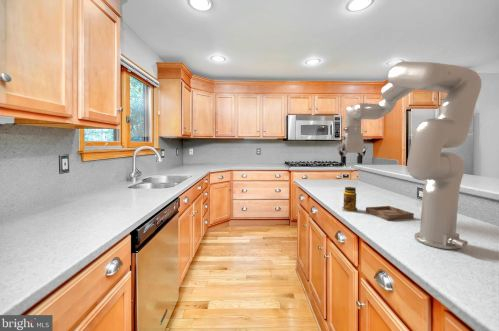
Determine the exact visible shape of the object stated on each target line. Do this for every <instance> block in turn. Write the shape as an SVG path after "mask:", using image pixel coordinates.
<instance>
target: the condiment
mask: <svg viewBox="0 0 499 331" xmlns="http://www.w3.org/2000/svg"><path fill="white" fill-rule="evenodd" d="M356 190H357V189H356V187H353V186H345V187H344V192H343V206H342V207H341V209H342V211H344V212H354V213H355V212H356V213H358V212H359V211H358V209H357V192H356Z"/></svg>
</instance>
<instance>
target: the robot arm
mask: <svg viewBox="0 0 499 331" xmlns="http://www.w3.org/2000/svg"><path fill="white" fill-rule="evenodd" d="M481 89H482V78H481V76H480V75H479V73H477V71H475V70H473V69H471V68H469V67H465V66H461V65H455V64H446V63H440V62H429V61H428V62H427V61H426V62H425V61H424V62H422V61H421V62H420V61H400V62H397V63H396V64H394V65H393V66H392V67H391V68H390V69H389V71H388V72H387V83H386V84H384V85H383V86H382V87H381V89H380V91H381V97H382V98H383V99H381V100H380V101H379V102H377V103H368V102H359V103H356V104H355V105H351V106H347V107H346V110H345V123H344V124H345V125H344V126H345V127H344V128H343V131H344V133H343V136H342V142H341V145H339V146H337V147H336V150H337V153H338V154H339V156H340V164H342V165H346V164H347V156H346V155H347V154H349V153H350V154H351V153H356V154H357V157H356V164H359V165H362V164H363V157H364V156H365V154H366V152H367V150H368V147H367V146H365V145H364V144H365V143H364V136H363V133H362V122H363V121H362V120H379V119H381V118H383V117H384V116H386V115H388V114H389V113H390V112H392V111H393V110H394V108H395V107H396V105H397V103H398V101H400V100H401V99H403V98H404V97H406V96H408V95H409V94H411V93H412V92H414V91H415V90H418V91H425V92H435V93H436V92H437V93H445V94H447V95H446V96H445V97H444V99H443V100H442V102H441V104H440V106H439V111H438V114H437V117H432V118H428V119H425V120H423V121H422V122H420V123H419V124H418V125H417V126H416V128H415V130H414V131H413V133H412V138H411V143H410V147H409V151H408V157H407V162H406V168H407V172H408V175H410V176H411V178H413V179H414V180H418V181H424V182H425V183H424V185H423V188H422V197H421V198H422V200H421V212H420V213H421V214H420V226H419V229H420V230H419V231H418V232H416V233H414V239H415V240H416V241H417V242H419V243H421V244H424V245H425V246H430V247H433V248H437V249H443V250H458V249H466V248H467V247H468V246H467V245H468V243H469V242H468V241H467V240H466V239H461V238H460V233H457V220H458V219H457V218H458V209H459V208H458V207H459V198H460V197H459V196H460V189H461V184H462V180H463V177H464V174H465V168H466V167H465V166H466V165H465V162H464V160H463V158H461V156H460V155H459V154H456V153H454V152H451V151H443V149H453V148H458V147H460V146H462V145H463V144H465V143H466V141H467V140H468V139H467V138H468V135H469V132H470V129H471V125H472V121H473V118H474V114H475V109H476V105H477V103H478V99H479V96H480V93H481Z"/></svg>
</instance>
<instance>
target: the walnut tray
mask: <svg viewBox="0 0 499 331" xmlns="http://www.w3.org/2000/svg"><path fill="white" fill-rule="evenodd" d="M365 213H367V214H370V215H373V216H374V217H378V218H380V219H383V220H385V221H400V220H411V219H412V220H413V219H414V216H415V214H414V213H413V212H410V211H407V210H403V209H400V208H397V207H395V206H391V205H384V206H383V205H382V206H367V207H366V208H365Z"/></svg>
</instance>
